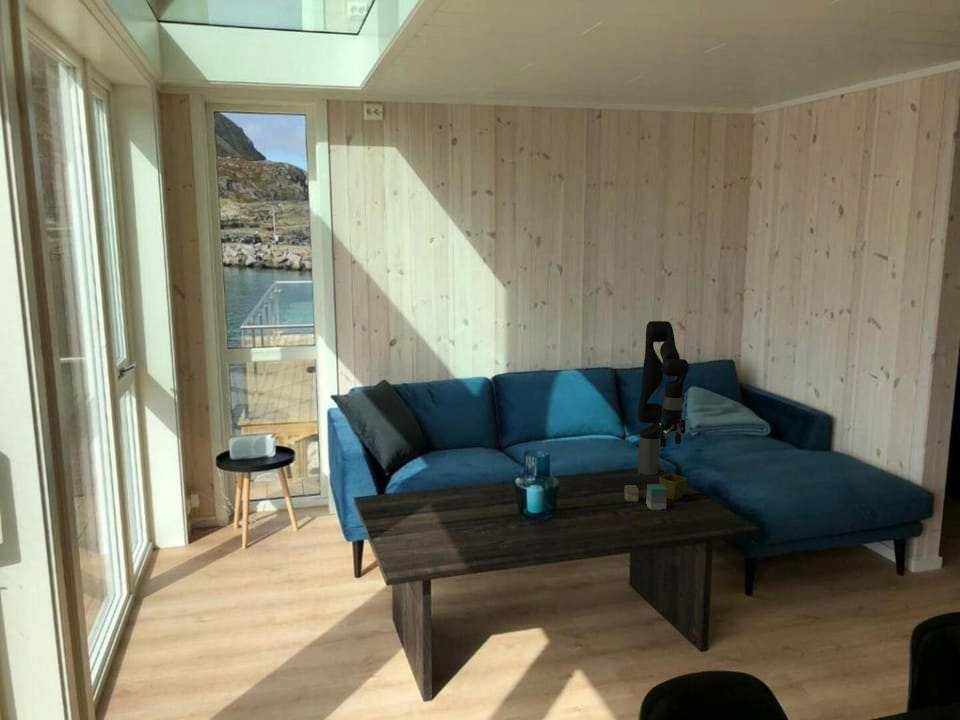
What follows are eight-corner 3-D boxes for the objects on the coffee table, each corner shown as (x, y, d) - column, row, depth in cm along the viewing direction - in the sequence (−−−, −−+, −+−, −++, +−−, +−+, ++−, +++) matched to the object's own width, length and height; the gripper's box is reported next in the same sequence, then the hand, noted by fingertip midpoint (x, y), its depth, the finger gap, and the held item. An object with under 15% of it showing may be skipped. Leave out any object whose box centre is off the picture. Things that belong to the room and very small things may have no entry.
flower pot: (674, 503, 322) (676, 482, 320) (657, 497, 328) (658, 477, 327) (686, 498, 327) (688, 478, 326) (669, 493, 334) (671, 473, 332)
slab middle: (646, 498, 320) (646, 491, 319) (661, 497, 320) (661, 490, 320) (651, 503, 313) (651, 496, 313) (666, 503, 314) (666, 496, 313)
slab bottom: (646, 504, 320) (646, 498, 319) (661, 504, 320) (661, 497, 320) (650, 510, 314) (651, 503, 313) (665, 510, 314) (666, 503, 314)
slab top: (646, 491, 319) (647, 484, 318) (661, 491, 319) (662, 484, 319) (651, 496, 313) (651, 489, 312) (666, 496, 313) (667, 489, 313)
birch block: (624, 497, 327) (624, 485, 326) (634, 497, 328) (635, 485, 327) (627, 501, 323) (627, 489, 322) (637, 501, 323) (638, 488, 322)
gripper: (677, 403, 320) (675, 440, 323) (653, 407, 312) (651, 445, 315) (691, 406, 314) (689, 445, 317) (667, 411, 306) (665, 450, 309)
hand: (670, 445), depth 316 cm, fingers open, 8 cm apart
